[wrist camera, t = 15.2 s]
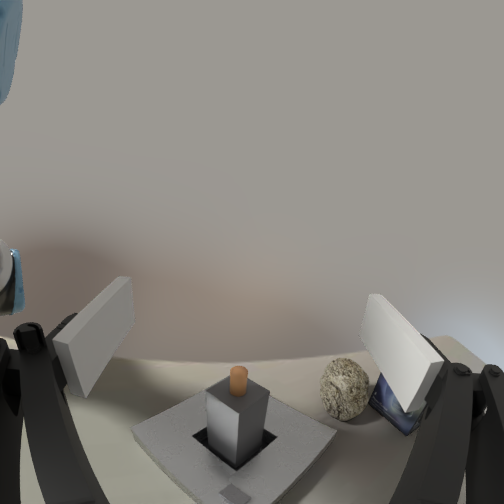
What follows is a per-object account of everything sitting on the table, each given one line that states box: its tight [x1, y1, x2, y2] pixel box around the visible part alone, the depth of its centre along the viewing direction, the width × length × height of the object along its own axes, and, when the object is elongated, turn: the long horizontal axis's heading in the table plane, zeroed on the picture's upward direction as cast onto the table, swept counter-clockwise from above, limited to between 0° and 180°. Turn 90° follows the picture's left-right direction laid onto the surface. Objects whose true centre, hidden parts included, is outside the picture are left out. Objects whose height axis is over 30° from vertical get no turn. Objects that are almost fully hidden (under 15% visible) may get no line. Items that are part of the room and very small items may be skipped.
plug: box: [206, 366, 270, 468], centre depth 29 cm, size 5×5×15 cm
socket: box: [130, 375, 337, 504], centre depth 31 cm, size 20×20×4 cm
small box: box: [368, 373, 428, 436], centre depth 36 cm, size 11×6×10 cm, turn 25°
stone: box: [320, 358, 369, 421], centre depth 38 cm, size 6×10×10 cm, turn 4°
